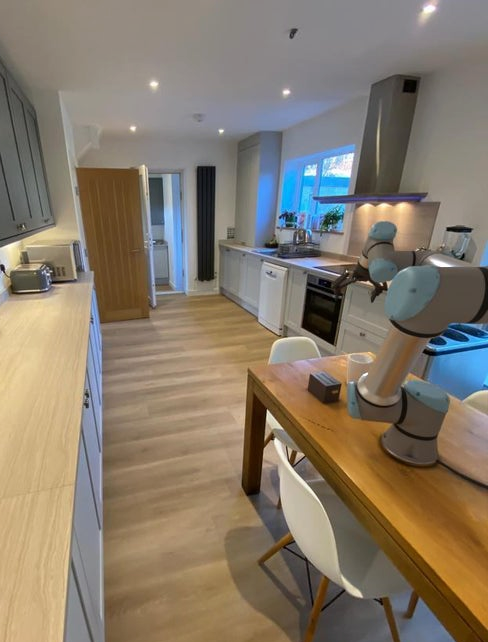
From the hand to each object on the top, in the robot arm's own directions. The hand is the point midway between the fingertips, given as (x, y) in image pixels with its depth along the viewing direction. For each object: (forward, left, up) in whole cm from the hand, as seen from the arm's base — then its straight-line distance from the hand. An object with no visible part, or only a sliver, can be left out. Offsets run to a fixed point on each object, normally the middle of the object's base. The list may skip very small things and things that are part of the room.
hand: (353, 299), depth 134 cm
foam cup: (-9, -1, -36) cm, 37 cm away
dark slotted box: (-13, +17, -36) cm, 42 cm away
